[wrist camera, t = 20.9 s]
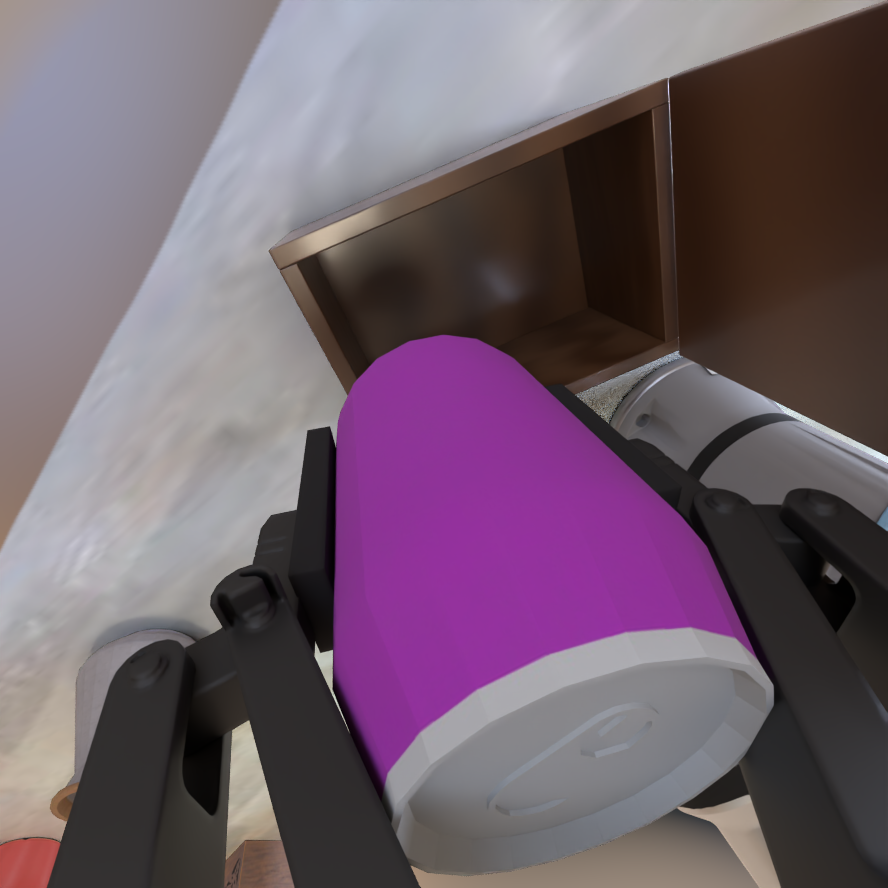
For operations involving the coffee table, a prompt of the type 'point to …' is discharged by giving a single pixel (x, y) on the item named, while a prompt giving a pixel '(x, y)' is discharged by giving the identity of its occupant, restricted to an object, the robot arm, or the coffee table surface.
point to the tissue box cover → (258, 866)
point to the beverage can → (520, 620)
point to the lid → (789, 220)
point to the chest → (510, 251)
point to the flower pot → (27, 862)
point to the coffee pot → (101, 699)
